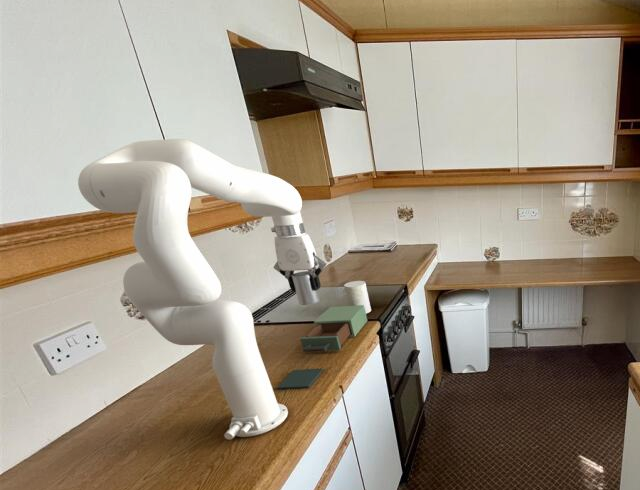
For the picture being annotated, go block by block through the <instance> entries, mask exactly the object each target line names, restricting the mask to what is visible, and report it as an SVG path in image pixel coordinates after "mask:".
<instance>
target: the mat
mask: <svg viewBox="0 0 640 490" xmlns="http://www.w3.org/2000/svg"><path fill="white" fill-rule="evenodd" d="M322 372H324V368H307V369H293V370H292V371H291V372H290V373H289V374H288V375H287V377H286V378H284V379H283V381H281V383H280V384H279V385H278V386H277V387H276V389H277V390H293V389H294V390H295V389H310V388H311V386H312V385H313V384H314V383H315V381H316V380H317V379H318V378H319V376H320V375H321V374H322Z"/></svg>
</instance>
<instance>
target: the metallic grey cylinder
mask: <svg viewBox="0 0 640 490" xmlns="http://www.w3.org/2000/svg"><path fill="white" fill-rule="evenodd" d="M291 276H292V280H293V283H294V287H295V290H296V291H295V293H296V298H297V301H298V305H300V306H309V305H313V304H316V303H319V302H320V301H321V299H320V294H319V291H318V290H319V289H318V290H316V291H315V290H314V289H313V285H312V282H311V278H312V276H311V274H310V273H309V271H308V270H303V271H297V272H294V274H292V275H291Z"/></svg>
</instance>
